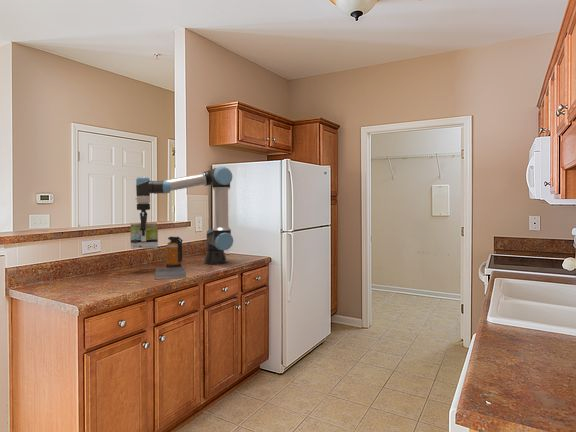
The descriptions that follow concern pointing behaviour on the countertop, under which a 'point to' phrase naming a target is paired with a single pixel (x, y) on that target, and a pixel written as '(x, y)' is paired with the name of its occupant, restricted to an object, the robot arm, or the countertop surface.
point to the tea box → (150, 236)
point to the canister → (174, 252)
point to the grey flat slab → (170, 273)
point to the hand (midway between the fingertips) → (144, 240)
